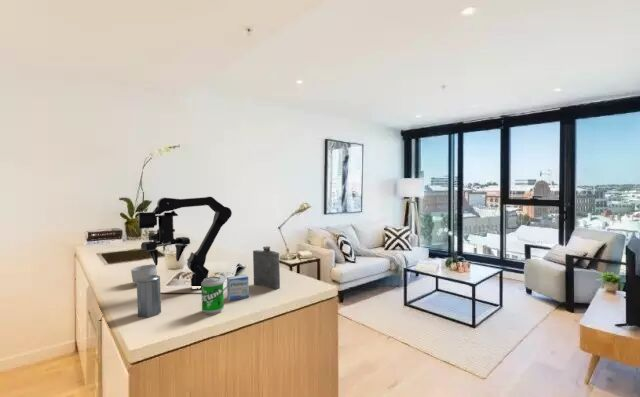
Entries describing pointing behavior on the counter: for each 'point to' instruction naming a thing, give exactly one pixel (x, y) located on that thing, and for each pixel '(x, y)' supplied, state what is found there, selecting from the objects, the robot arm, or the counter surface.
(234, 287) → the medicine box
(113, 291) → the counter surface
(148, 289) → the steel cup
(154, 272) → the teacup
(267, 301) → the counter surface
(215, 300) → the soda can
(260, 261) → the flask
